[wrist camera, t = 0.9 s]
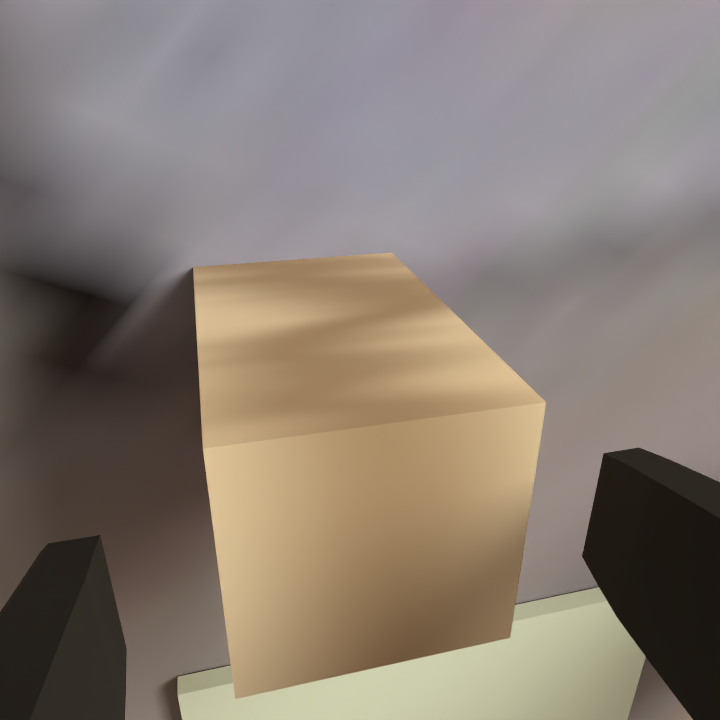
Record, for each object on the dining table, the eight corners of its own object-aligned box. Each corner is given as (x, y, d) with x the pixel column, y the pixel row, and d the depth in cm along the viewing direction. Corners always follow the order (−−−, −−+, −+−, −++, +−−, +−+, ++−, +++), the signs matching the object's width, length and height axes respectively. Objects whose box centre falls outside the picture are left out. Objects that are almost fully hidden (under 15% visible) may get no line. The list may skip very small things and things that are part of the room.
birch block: (391, 252, 14) (546, 402, 8) (387, 418, 16) (509, 637, 10) (193, 267, 13) (203, 448, 7) (213, 441, 15) (235, 699, 9)
